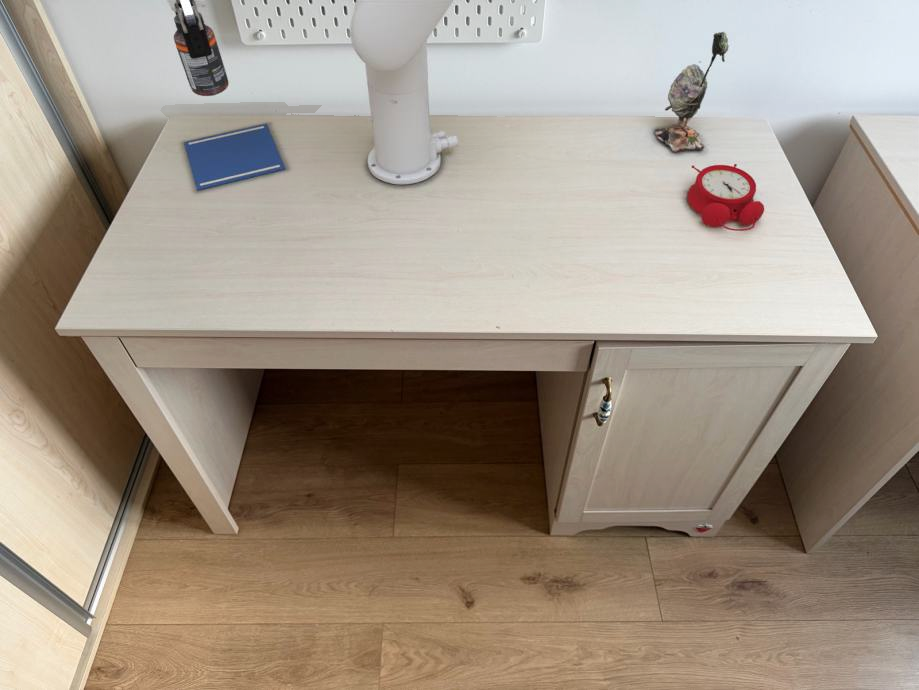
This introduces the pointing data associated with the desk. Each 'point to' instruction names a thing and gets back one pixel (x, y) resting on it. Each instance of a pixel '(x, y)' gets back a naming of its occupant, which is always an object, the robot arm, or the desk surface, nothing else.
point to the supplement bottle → (202, 64)
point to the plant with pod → (689, 100)
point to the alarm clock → (725, 197)
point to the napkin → (233, 156)
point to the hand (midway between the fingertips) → (197, 45)
